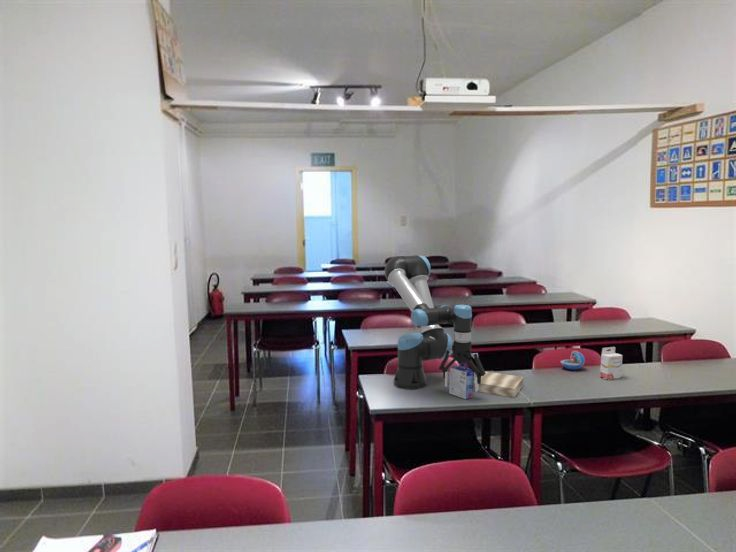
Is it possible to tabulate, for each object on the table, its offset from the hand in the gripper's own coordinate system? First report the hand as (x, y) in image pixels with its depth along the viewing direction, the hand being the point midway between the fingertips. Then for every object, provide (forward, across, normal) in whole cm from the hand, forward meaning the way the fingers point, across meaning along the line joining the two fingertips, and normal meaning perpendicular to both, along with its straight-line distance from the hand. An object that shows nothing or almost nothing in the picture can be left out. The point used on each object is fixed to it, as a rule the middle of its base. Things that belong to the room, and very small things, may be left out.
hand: (461, 388), depth 214 cm
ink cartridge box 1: (+4, 0, 0) cm, 4 cm away
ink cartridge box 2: (+4, +56, +57) cm, 80 cm away
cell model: (+4, +38, +63) cm, 74 cm away
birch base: (+3, +12, +17) cm, 21 cm away
